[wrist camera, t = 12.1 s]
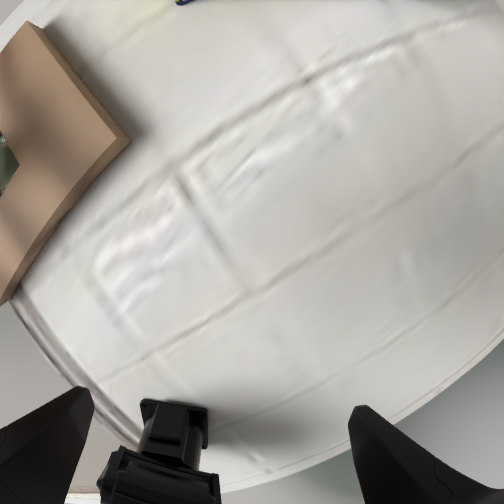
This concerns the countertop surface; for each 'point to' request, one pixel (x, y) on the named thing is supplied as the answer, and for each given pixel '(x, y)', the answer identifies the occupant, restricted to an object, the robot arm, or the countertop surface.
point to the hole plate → (45, 146)
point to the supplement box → (181, 1)
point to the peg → (7, 164)
